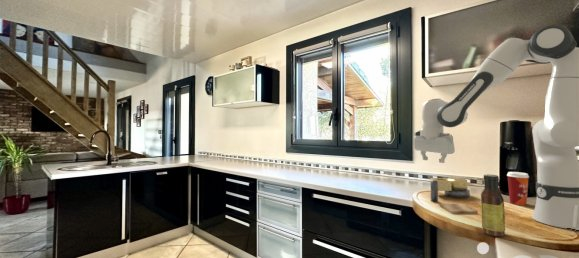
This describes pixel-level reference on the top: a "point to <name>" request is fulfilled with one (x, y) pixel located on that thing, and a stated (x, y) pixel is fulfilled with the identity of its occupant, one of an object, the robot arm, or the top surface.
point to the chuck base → (458, 194)
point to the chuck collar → (451, 184)
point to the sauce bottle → (492, 207)
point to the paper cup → (518, 187)
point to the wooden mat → (458, 209)
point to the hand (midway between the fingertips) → (433, 161)
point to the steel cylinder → (434, 190)
